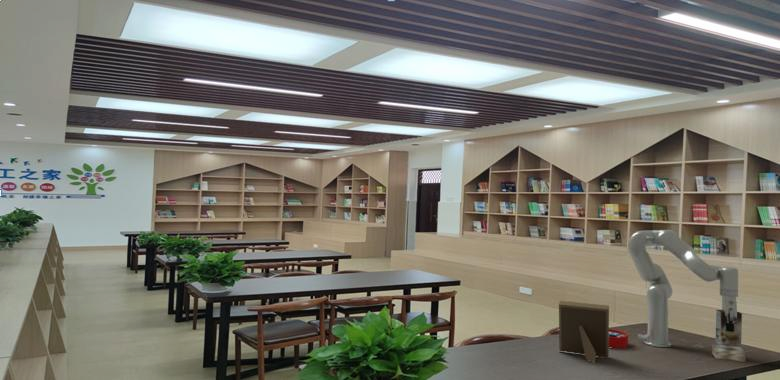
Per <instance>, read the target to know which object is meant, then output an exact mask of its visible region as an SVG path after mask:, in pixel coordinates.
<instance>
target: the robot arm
mask: <svg viewBox="0 0 780 380" xmlns="http://www.w3.org/2000/svg"><path fill="white" fill-rule="evenodd" d="M652 246H653V247H655V246H656V247H657V246H658V247H663V248H665V249H666V251H667V250H668V252H670V253H671V255H672V254H673V255H674V256H675V257H676V258H677V259H679V260H680V261H681V263H683V264H684V265H685V266H686V267H687V268H688V269H689V271H691V272H692V273H693V274H695V275H696V276H697V277H698V278H700V279H701V280H702V281H704V282H709V283H710V282H714V281H719V296H720V297H721V310H723V311H724V312H725V316H726V317H727V323H726V331H729V332H734V317H735V318H737V312H738V305H737V304H738V303H737V298H738V297H739V270H738V269H737V267H736V268H735V267H731V266H719V265H713V264H708V263H707V262H706V261H704V260H703V259H702V258H700V256H698V254H697V253H696V251H695V249H694V248H693V247H692V246H691V245H690V244H688V243H687V242H686V241H685V240H684V239H682V238H680V237H679V234H678V233H677V232H676V231H674V230H673V229H658V230H657V229H656V230H655V229H653V230H650V229H649V230H646V229H645V230H638V231H635V232H634V233H633V234H632V235H631V236H630V237H629V239H628V242H627V250H628V253H629V254H630V257H631V259H632V261H633V263H634V265H635V268H636V270H637V272H638V275H639V276H640V278H641V279H642V280H643V282H646V283H649V286H648V288H647V291H646V300H647V333H646V334H639V333H638V334H637V338H638V339H640V340H641V339H642V340H644V341H643V342H644V344H645V345H647V346H651V347H657V348H658V347H659V348H670V347H672V343H671V342H670V341H669V305H668V300H669V299H671V297H672V296H673V288H672V286H671V283H670V281H669V279H668V277H667V275H666V273H665V271H664V269H663V268H662V267H661V266H660V265H659V264H658V263H654V262H653V260H652V258H651V256H650V254H649V252H648V251H647V249H646V248H647V247H652ZM728 314H729V315H730V316H728ZM733 315H734V316H733ZM728 318H729V319H728Z"/></svg>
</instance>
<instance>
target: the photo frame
mask: <svg viewBox="0 0 780 380" xmlns="http://www.w3.org/2000/svg"><path fill="white" fill-rule="evenodd" d="M609 329H610V305H606V304H595V303H586V302H575V301H566V300H559V303H558V335H559V336H558V340H559V341H558V342H559V344H558V345H559V346H558V347H559V348H558V350H560V351H567V352H574V353H580V354H585V356H584V357H585V360H586V359H587V360H590V361H593V362H595V363H596V358H597V357H596V356H598V357H604V358H608V359H609V352H610V351H609V349H610V348H609ZM604 358H603V359H604ZM590 361H589V362H590ZM593 362H592V363H593Z"/></svg>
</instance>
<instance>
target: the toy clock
mask: <svg viewBox="0 0 780 380" xmlns="http://www.w3.org/2000/svg"><path fill="white" fill-rule="evenodd" d="M627 346H628V347H629V334H628V333H627V332H624V331H621V330H617V329H612V328H609V347H612V348H621V349H626V348H628V347H627ZM625 347H626V348H625ZM612 348H611V349H612Z"/></svg>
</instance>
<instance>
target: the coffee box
mask: <svg viewBox="0 0 780 380" xmlns="http://www.w3.org/2000/svg"><path fill="white" fill-rule="evenodd" d="M728 316H730V315H729V314H728ZM733 316H734V315H733ZM715 318H716V319H715V343H716V344H717V345H721V346H730V347H738V348H742V335H743V334H742V332H743V330H742V329H743V328H742V327H743V326H742V324H743V323H742V321H743V320H742V319H743V313H742V312H740V311H737V318H735V317H734V332H729V331H726V323H727V317H726V316H725V312H724V311H723V310H722V309H716V314H715ZM728 319H729V318H728Z"/></svg>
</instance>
